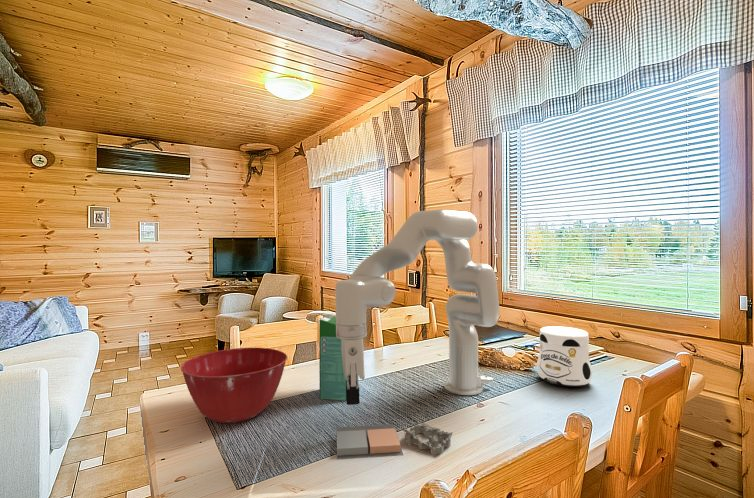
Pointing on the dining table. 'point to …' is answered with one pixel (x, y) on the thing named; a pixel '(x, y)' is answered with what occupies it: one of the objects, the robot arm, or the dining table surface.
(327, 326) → the milk carton
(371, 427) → the rubber mat
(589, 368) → the milk container
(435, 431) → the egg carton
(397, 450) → the terracotta tile
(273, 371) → the mixing bowl
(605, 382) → the dining table surface
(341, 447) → the grey flat block
